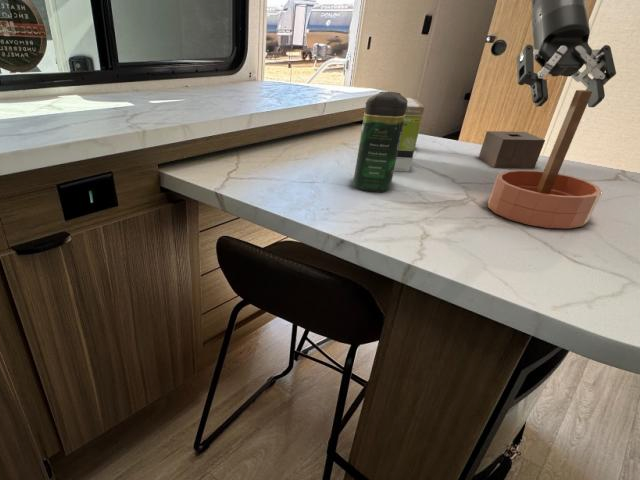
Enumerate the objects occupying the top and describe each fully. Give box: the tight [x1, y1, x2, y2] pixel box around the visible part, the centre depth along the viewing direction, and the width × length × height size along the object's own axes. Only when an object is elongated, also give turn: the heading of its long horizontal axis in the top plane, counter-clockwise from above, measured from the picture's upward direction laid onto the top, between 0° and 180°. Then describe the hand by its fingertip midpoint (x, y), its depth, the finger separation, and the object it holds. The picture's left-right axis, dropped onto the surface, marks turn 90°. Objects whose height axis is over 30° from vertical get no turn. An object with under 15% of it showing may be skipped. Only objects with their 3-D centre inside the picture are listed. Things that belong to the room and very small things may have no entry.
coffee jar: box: [352, 91, 407, 193], centre depth 85 cm, size 10×8×19 cm
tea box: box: [394, 97, 425, 172], centre depth 101 cm, size 15×10×15 cm
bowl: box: [487, 169, 603, 230], centre depth 75 cm, size 16×16×6 cm
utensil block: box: [478, 130, 546, 170], centre depth 103 cm, size 10×10×7 cm
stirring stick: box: [536, 89, 592, 194], centre depth 71 cm, size 2×2×20 cm
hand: (568, 103), depth 69 cm, fingers open, 8 cm apart
